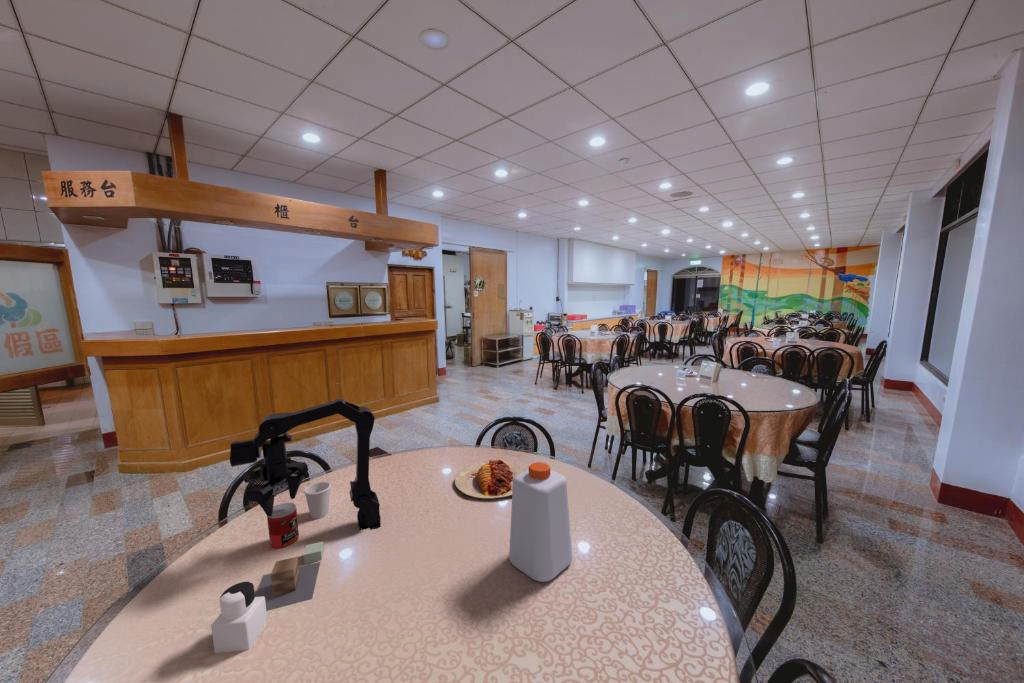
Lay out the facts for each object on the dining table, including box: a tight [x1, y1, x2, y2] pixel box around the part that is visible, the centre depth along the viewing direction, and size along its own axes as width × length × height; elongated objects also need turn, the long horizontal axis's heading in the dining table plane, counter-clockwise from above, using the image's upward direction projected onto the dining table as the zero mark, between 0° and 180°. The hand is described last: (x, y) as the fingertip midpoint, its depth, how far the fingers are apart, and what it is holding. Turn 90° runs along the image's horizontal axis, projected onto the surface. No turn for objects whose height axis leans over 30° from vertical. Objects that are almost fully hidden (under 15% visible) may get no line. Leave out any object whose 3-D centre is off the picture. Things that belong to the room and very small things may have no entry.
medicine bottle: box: [210, 581, 268, 654], centre depth 81 cm, size 7×7×12 cm
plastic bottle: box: [508, 461, 573, 583], centre depth 103 cm, size 15×15×28 cm
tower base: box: [272, 566, 300, 596], centre depth 96 cm, size 5×5×3 cm
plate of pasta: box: [454, 459, 526, 499], centre depth 151 cm, size 31×35×7 cm
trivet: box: [255, 561, 321, 612], centre depth 96 cm, size 14×14×1 cm
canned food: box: [266, 502, 300, 549], centre depth 114 cm, size 8×8×11 cm
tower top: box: [270, 556, 299, 585], centre depth 95 cm, size 5×5×3 cm
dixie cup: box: [303, 481, 332, 520], centre depth 129 cm, size 8×8×10 cm
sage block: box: [303, 541, 325, 565], centre depth 107 cm, size 4×4×4 cm
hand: (281, 507), depth 110 cm, fingers open, 9 cm apart
